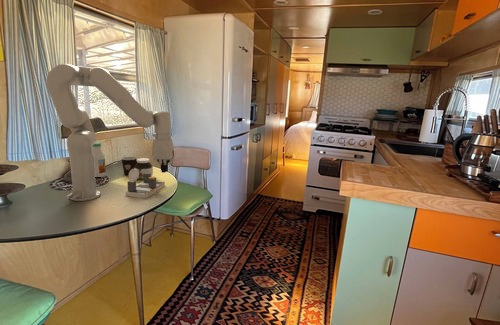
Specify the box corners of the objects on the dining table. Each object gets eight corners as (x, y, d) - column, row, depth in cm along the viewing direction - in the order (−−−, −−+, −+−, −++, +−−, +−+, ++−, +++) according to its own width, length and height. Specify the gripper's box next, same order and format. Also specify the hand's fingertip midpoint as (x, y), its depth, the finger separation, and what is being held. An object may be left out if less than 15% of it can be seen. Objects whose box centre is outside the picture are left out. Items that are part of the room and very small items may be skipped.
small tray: (146, 198, 132) (146, 184, 130) (125, 195, 133) (125, 182, 131) (164, 185, 151) (164, 173, 150) (146, 183, 152) (145, 171, 151)
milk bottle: (94, 179, 155) (91, 144, 150) (89, 175, 160) (86, 142, 155) (108, 176, 160) (106, 143, 156) (103, 173, 165) (100, 141, 161)
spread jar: (154, 176, 165) (154, 158, 163) (147, 182, 154) (146, 162, 152) (135, 175, 166) (134, 157, 163) (126, 181, 155) (125, 161, 152)
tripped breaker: (154, 187, 140) (153, 178, 139) (148, 187, 140) (148, 177, 139) (156, 186, 142) (156, 176, 141) (151, 185, 143) (150, 176, 141)
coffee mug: (119, 174, 165) (118, 158, 163) (128, 171, 173) (128, 156, 171) (134, 177, 162) (134, 161, 160) (144, 173, 170) (143, 158, 168)
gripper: (144, 136, 131) (147, 172, 136) (174, 138, 130) (175, 175, 134) (152, 134, 139) (154, 168, 143) (180, 136, 137) (181, 171, 141)
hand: (164, 171), depth 139 cm, fingers closed
